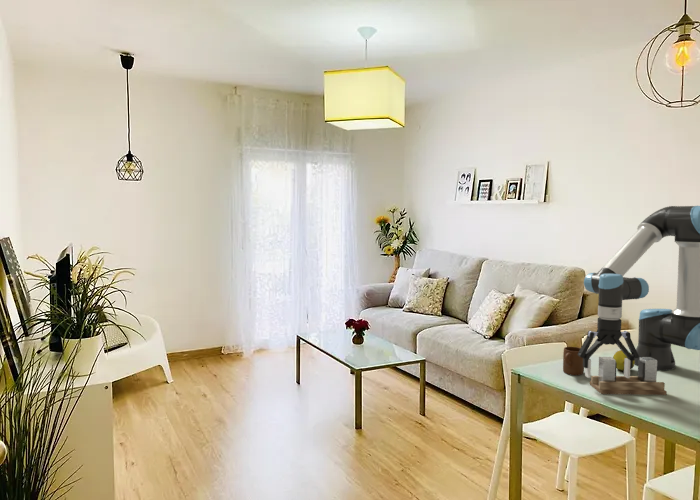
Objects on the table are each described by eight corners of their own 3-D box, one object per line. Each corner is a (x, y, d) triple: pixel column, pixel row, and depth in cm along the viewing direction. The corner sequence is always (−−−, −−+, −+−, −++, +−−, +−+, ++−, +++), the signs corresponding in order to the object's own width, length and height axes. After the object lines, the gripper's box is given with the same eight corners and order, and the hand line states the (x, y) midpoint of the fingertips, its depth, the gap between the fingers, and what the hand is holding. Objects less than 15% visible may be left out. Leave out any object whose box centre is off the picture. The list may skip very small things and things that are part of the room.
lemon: (614, 365, 215) (614, 346, 214) (635, 368, 210) (636, 349, 210) (609, 372, 206) (610, 352, 205) (632, 376, 201) (633, 355, 201)
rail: (651, 385, 191) (651, 375, 191) (666, 394, 181) (667, 384, 181) (589, 384, 192) (589, 374, 191) (601, 394, 182) (601, 383, 181)
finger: (649, 384, 188) (651, 357, 187) (656, 388, 184) (657, 360, 183) (636, 384, 188) (638, 357, 187) (642, 388, 184) (643, 360, 183)
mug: (576, 380, 197) (576, 355, 196) (555, 375, 202) (556, 351, 201) (586, 372, 206) (587, 348, 205) (566, 368, 211) (567, 345, 210)
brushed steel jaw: (611, 384, 188) (612, 356, 188) (616, 388, 184) (617, 360, 184) (598, 384, 189) (599, 356, 188) (602, 387, 185) (603, 359, 184)
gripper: (577, 320, 181) (575, 380, 183) (651, 320, 180) (648, 380, 182) (569, 315, 189) (567, 373, 190) (640, 315, 188) (637, 374, 189)
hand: (607, 377), depth 186 cm, fingers open, 13 cm apart
